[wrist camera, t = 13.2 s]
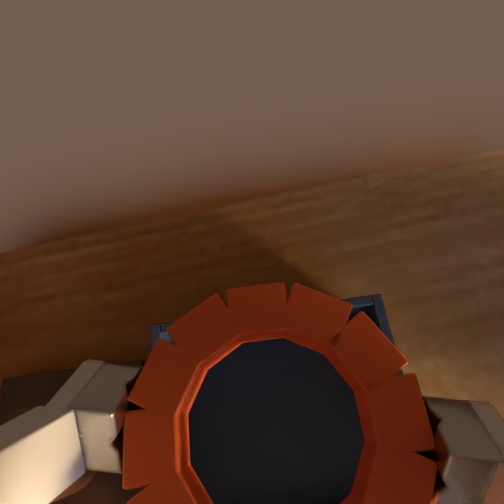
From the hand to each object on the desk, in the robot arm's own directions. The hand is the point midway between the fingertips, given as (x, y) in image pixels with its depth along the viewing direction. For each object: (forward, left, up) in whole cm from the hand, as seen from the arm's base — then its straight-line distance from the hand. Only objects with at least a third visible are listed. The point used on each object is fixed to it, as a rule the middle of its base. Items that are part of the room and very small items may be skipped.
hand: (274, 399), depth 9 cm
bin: (0, +1, -17) cm, 17 cm away
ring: (0, +1, 0) cm, 1 cm away
